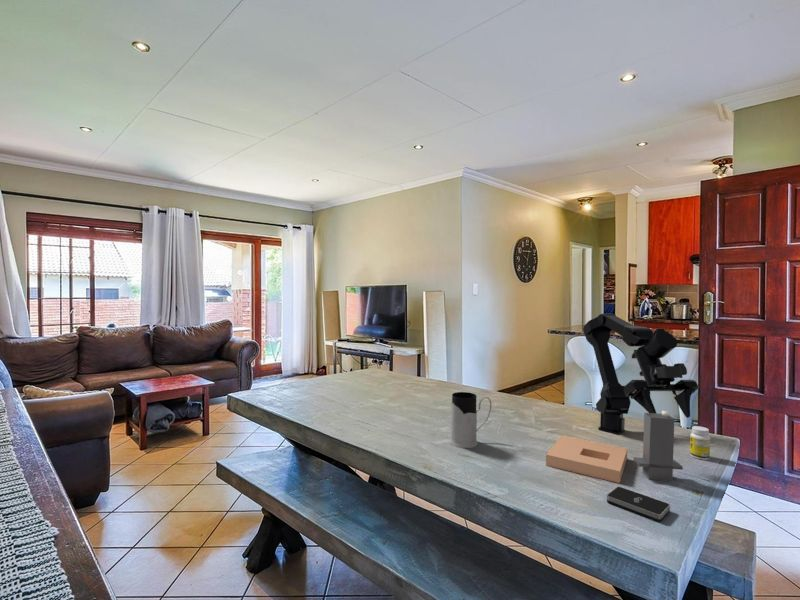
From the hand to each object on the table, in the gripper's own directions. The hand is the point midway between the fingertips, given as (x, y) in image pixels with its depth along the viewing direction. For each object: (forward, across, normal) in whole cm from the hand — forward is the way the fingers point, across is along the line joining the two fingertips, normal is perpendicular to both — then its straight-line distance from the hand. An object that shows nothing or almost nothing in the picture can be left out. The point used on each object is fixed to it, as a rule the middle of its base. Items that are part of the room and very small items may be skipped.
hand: (672, 417), depth 113 cm
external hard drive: (+24, -22, -7) cm, 33 cm away
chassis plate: (+9, -21, +11) cm, 26 cm away
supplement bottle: (+7, +13, +14) cm, 20 cm away
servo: (+14, -8, +4) cm, 17 cm away
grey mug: (-1, -51, +24) cm, 56 cm away
